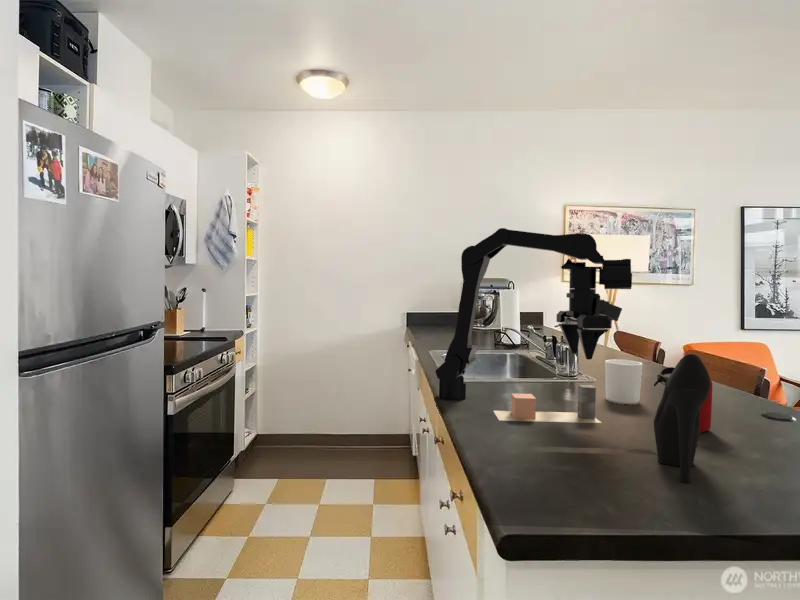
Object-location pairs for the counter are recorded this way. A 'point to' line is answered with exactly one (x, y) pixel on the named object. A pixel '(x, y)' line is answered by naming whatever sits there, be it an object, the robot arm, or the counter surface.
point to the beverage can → (706, 412)
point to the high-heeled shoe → (681, 413)
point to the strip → (583, 416)
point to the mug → (623, 381)
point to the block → (523, 406)
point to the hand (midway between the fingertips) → (581, 356)
